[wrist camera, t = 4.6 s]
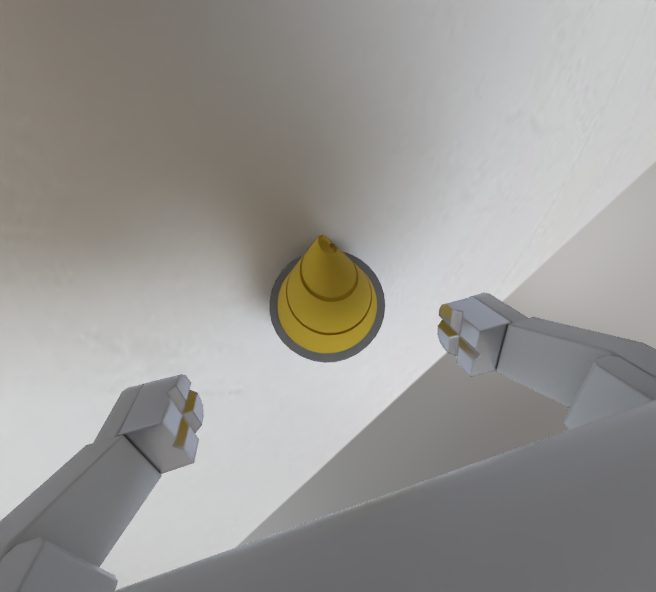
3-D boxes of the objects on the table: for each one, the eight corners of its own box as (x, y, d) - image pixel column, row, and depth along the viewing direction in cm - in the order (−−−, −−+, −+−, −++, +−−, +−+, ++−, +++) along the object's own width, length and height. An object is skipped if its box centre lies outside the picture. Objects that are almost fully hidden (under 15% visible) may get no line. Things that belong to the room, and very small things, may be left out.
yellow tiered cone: (265, 327, 16) (160, 260, 6) (319, 260, 17) (302, 114, 7) (338, 383, 15) (348, 408, 5) (389, 308, 16) (478, 215, 6)
